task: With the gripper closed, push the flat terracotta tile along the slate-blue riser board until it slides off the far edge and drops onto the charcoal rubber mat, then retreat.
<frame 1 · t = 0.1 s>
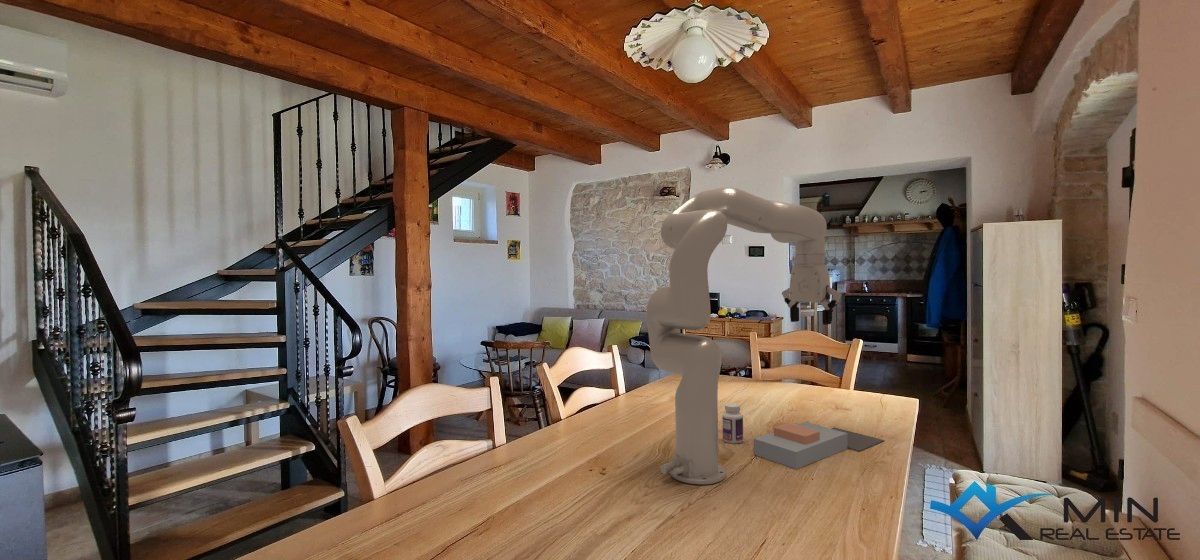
hand: (810, 322, 142), 31 cm above the table, fingers open, 9 cm apart
tile: (796, 437, 129), point 4 cm above the table, touching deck
mat: (846, 439, 139), on the table
pill bottle: (732, 441, 139), on the table
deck: (801, 451, 130), on the table
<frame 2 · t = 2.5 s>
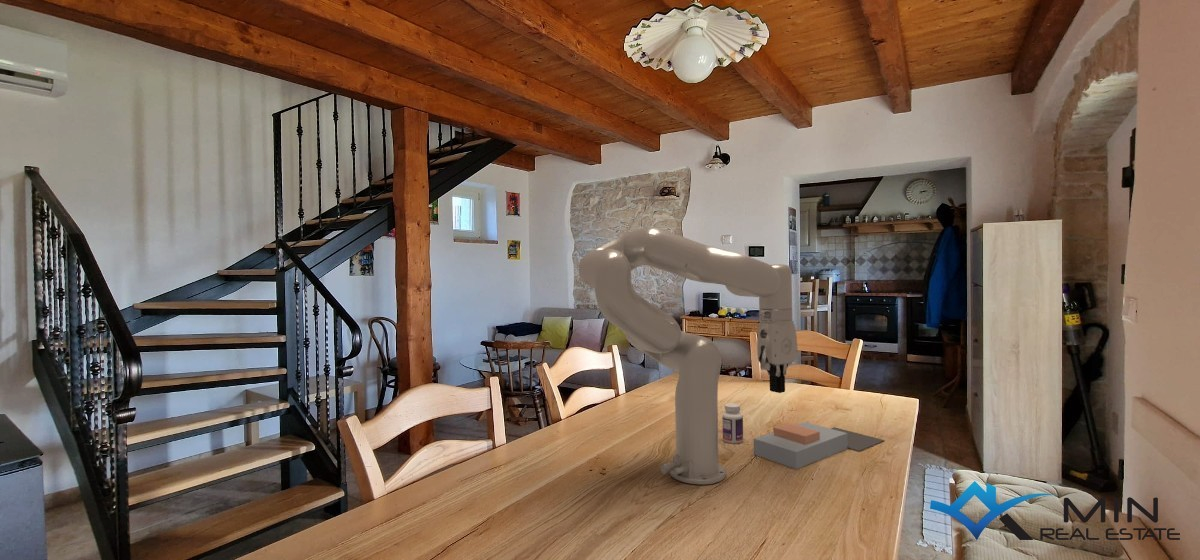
hand: (777, 391, 124), 17 cm above the table, fingers closed
nothing on the table moved.
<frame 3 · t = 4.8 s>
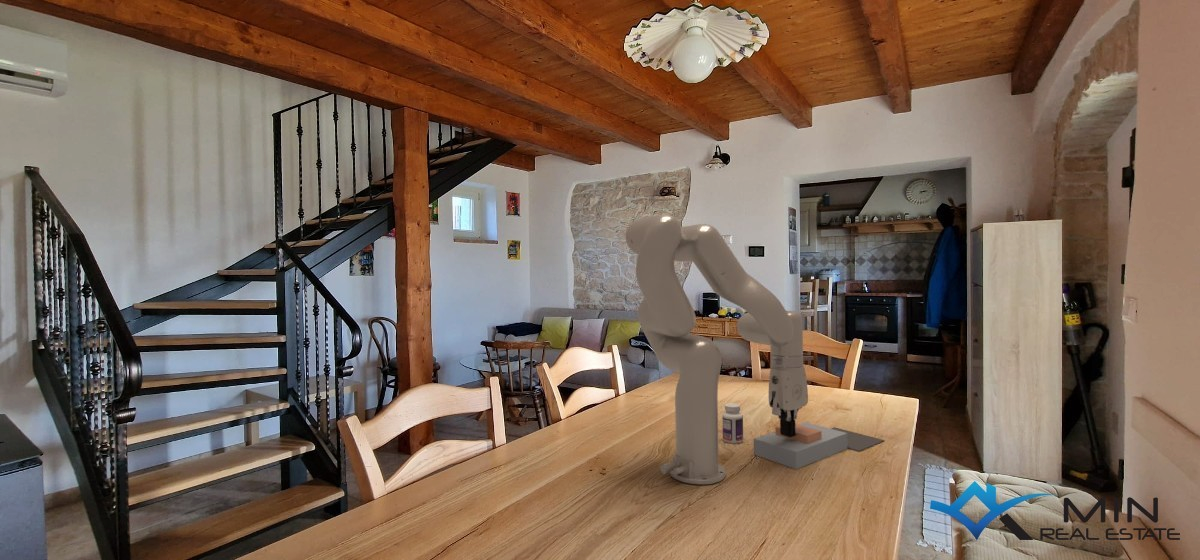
hand: (787, 435, 127), 5 cm above the table, fingers closed
tile: (798, 436, 129), point 4 cm above the table, touching gripper
everything else where it was.
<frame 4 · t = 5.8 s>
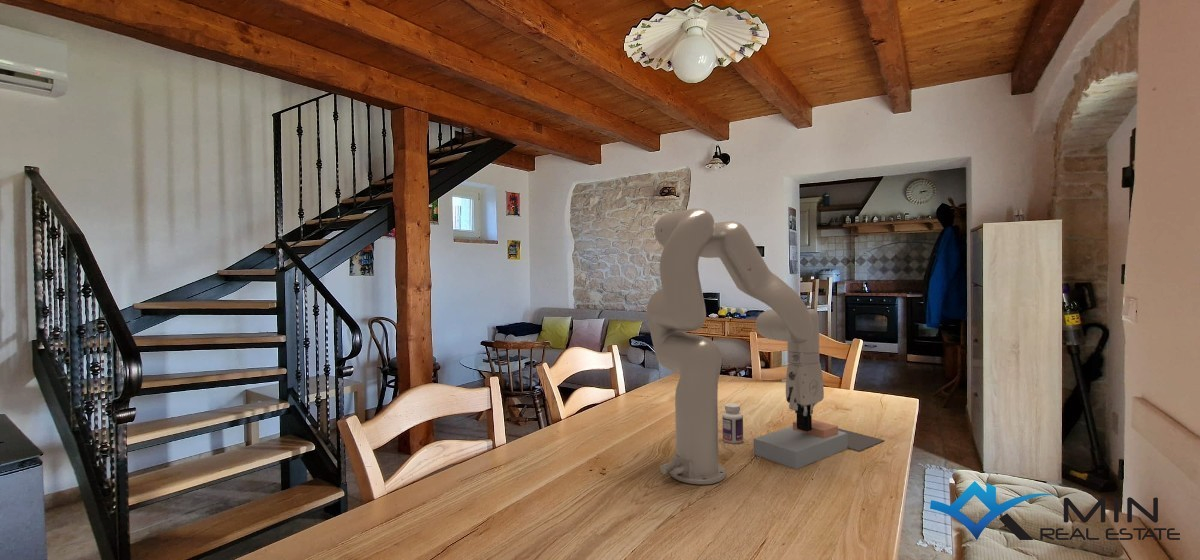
hand: (804, 429, 131), 5 cm above the table, fingers closed
tile: (815, 431, 133), point 4 cm above the table, touching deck, gripper
everything else where it was.
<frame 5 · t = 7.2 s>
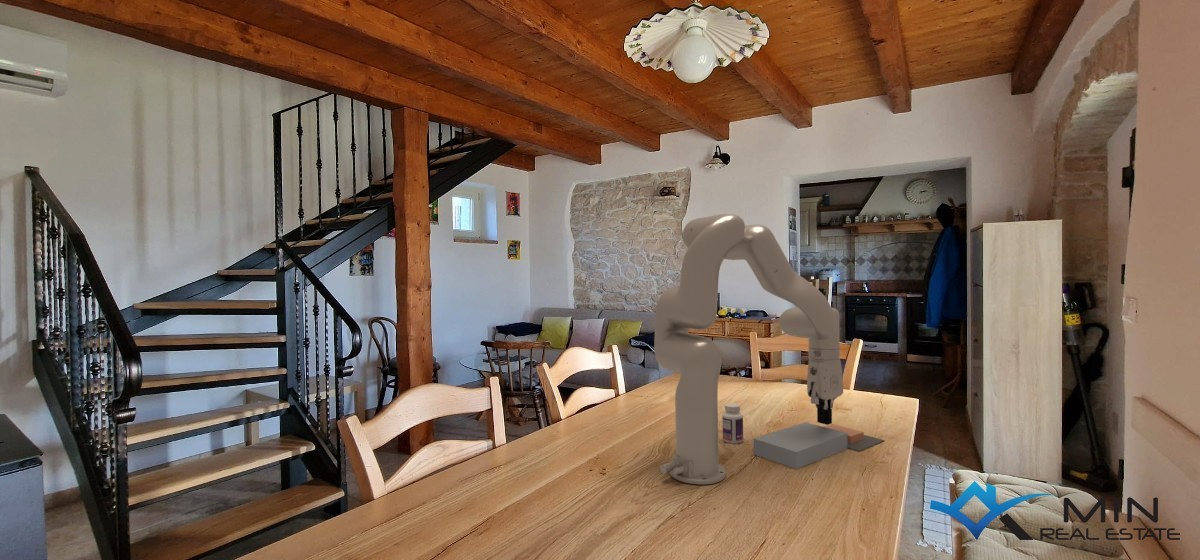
hand: (824, 423, 136), 5 cm above the table, fingers closed
tile: (841, 429, 139), point 2 cm above the table, tilted 180°, touching mat
everything else where it was.
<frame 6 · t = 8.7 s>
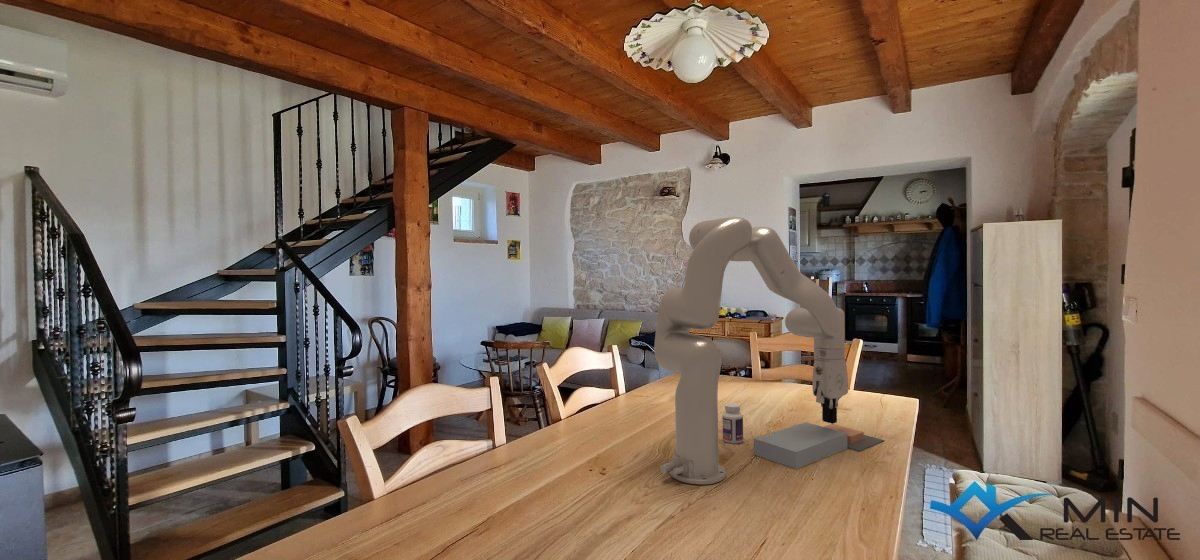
hand: (829, 421, 138), 5 cm above the table, fingers closed
nothing on the table moved.
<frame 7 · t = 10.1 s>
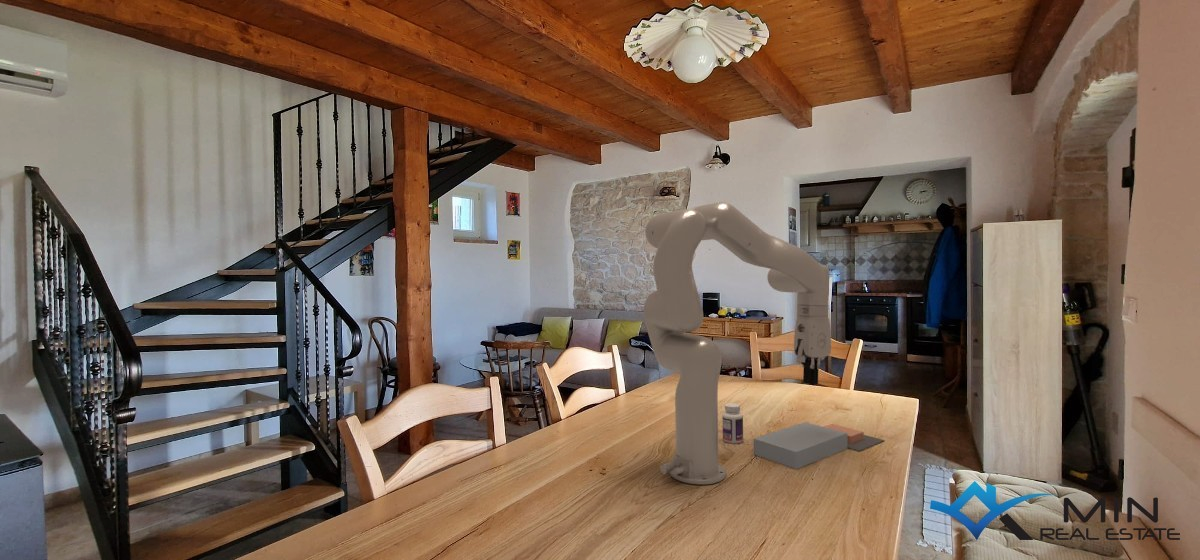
hand: (810, 383, 133), 17 cm above the table, fingers closed
nothing on the table moved.
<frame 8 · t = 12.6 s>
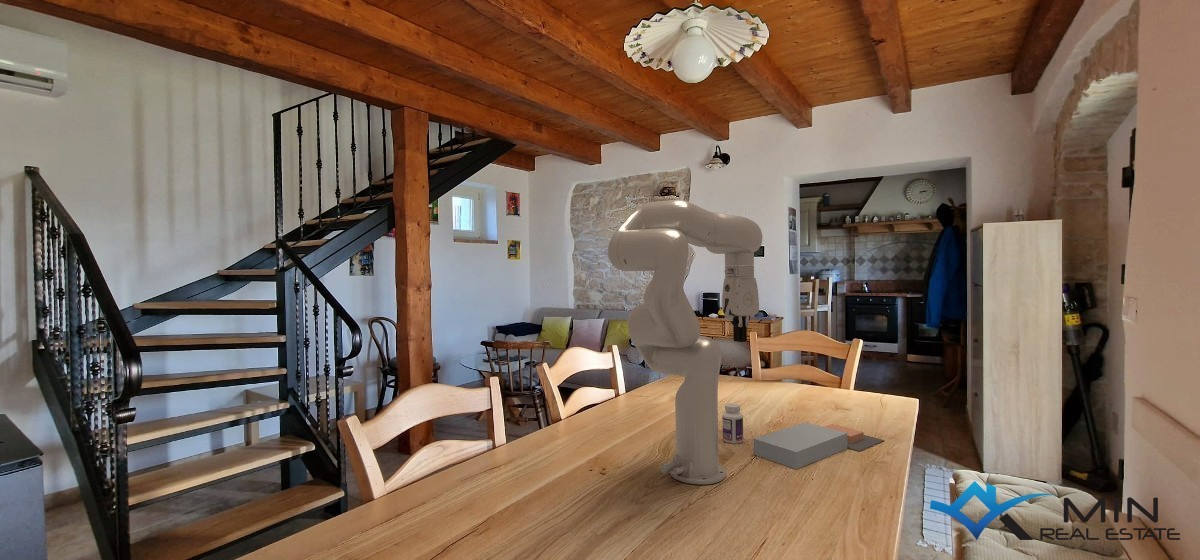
hand: (740, 341, 137), 27 cm above the table, fingers closed
nothing on the table moved.
at the end: tile point 2.3 cm above the table; tile inside the target area on the mat (1.3 cm from its centre), point 2.3 cm above the mat's base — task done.
